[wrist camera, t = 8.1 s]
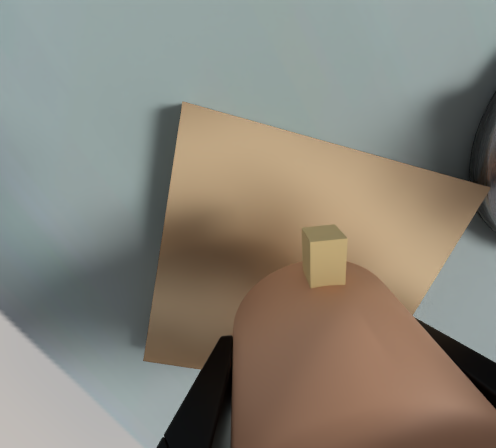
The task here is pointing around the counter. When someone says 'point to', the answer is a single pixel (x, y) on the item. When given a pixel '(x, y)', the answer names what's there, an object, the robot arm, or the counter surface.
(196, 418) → the robot arm
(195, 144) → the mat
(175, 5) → the counter surface
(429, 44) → the counter surface
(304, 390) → the cap
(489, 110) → the metal flange
